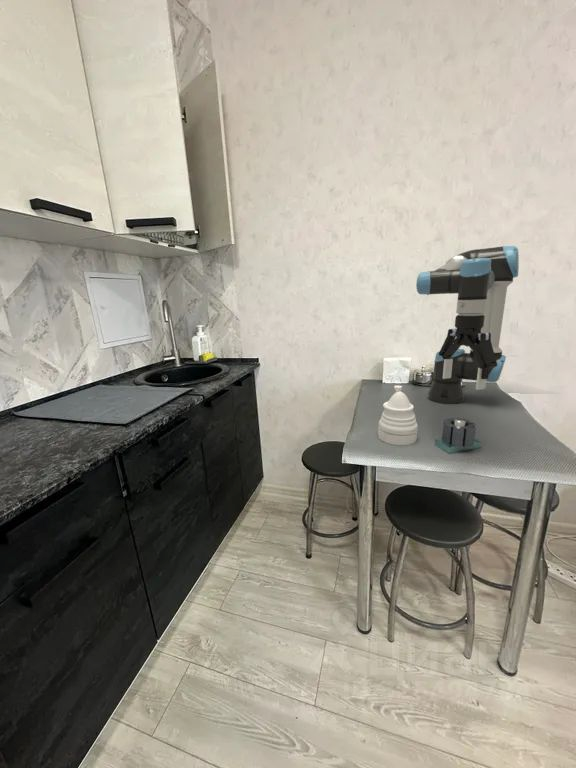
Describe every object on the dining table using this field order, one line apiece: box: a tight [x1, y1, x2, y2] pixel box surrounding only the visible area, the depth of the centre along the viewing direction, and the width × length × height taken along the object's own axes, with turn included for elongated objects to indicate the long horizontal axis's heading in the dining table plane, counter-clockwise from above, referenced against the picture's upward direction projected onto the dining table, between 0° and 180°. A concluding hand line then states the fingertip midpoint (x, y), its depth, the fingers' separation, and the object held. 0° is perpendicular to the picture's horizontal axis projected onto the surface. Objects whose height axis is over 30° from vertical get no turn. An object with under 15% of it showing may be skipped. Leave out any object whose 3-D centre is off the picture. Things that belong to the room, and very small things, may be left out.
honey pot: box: [377, 385, 419, 446], centre depth 108 cm, size 13×13×18 cm
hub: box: [441, 417, 477, 447], centre depth 101 cm, size 9×9×6 cm
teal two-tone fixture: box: [434, 418, 482, 454], centre depth 101 cm, size 12×6×9 cm, turn 104°
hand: (462, 383), depth 99 cm, fingers open, 13 cm apart
